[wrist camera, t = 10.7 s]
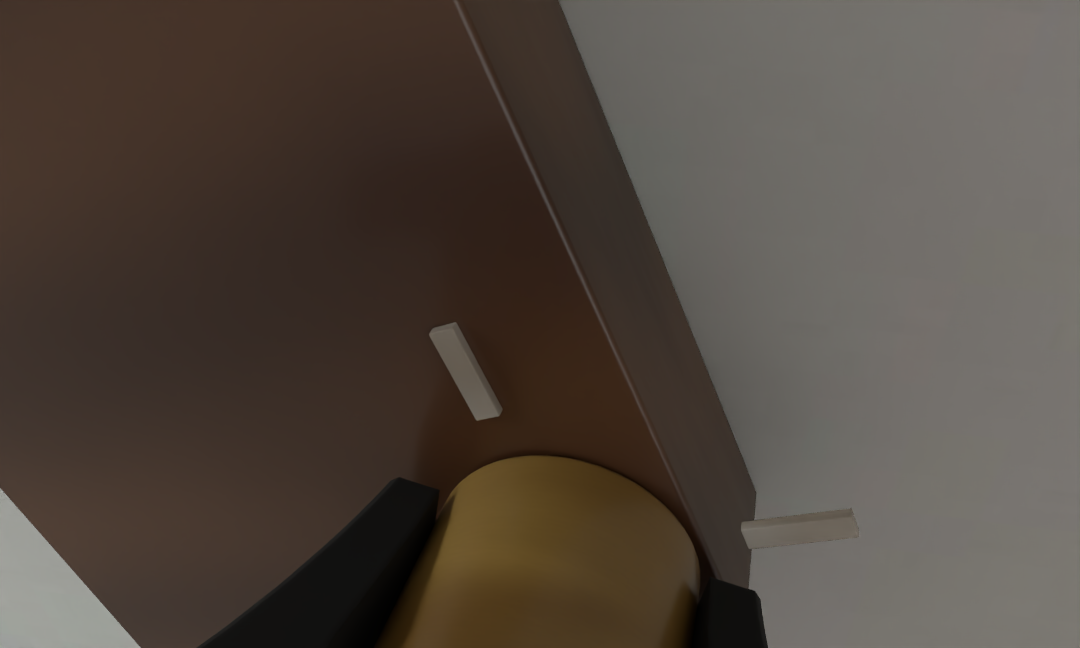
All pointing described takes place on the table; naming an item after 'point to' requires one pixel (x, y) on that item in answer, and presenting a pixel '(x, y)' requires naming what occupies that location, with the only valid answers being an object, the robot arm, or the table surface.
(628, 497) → the dimmer knob
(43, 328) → the dimmer panel
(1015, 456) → the table surface
